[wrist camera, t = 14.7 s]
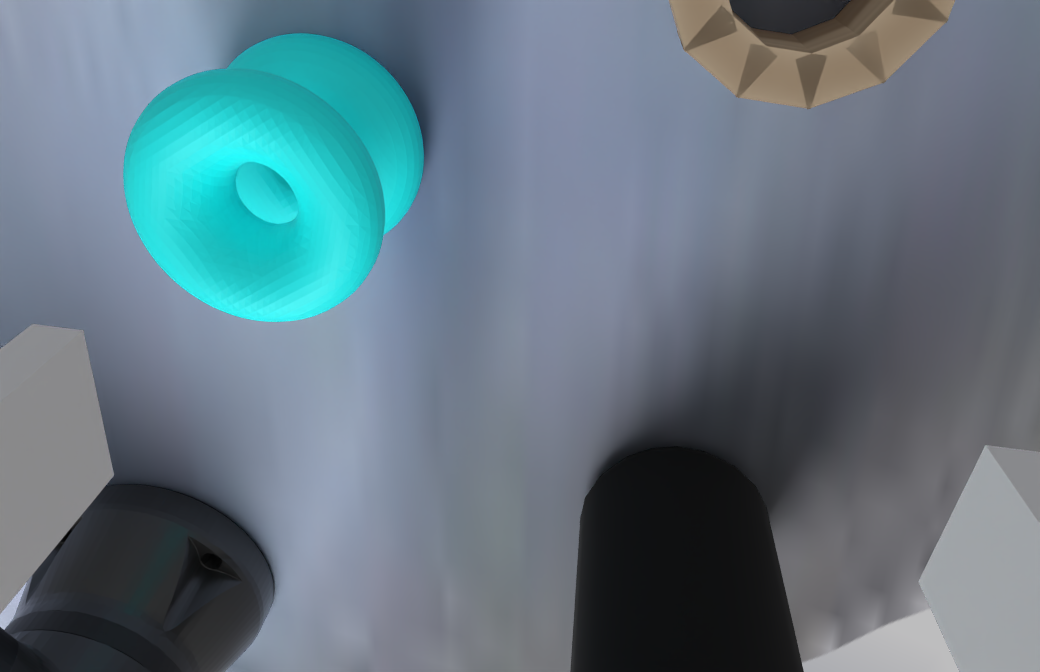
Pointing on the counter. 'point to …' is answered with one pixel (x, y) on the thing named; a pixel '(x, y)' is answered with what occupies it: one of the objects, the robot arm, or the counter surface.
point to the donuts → (274, 176)
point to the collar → (807, 48)
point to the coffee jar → (679, 571)
